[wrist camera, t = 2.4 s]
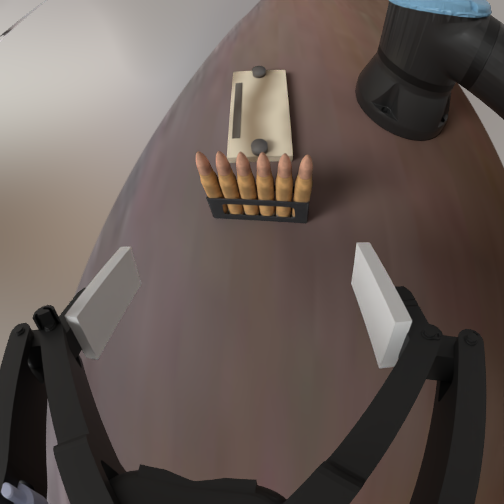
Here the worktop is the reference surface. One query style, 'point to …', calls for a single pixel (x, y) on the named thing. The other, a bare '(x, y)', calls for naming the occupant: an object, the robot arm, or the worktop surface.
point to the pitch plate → (259, 115)
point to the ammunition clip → (256, 189)
